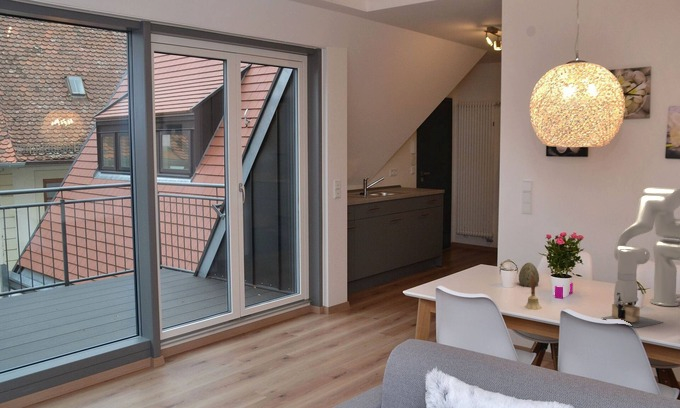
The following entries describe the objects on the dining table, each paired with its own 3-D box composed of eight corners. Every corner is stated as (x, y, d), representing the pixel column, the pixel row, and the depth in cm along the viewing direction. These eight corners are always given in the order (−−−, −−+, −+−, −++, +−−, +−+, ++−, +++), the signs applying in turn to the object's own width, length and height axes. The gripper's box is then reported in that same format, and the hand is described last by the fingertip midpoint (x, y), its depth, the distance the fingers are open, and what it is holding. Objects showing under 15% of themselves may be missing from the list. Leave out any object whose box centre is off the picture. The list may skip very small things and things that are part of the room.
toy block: (560, 295, 327) (561, 281, 326) (572, 296, 323) (573, 282, 322) (549, 300, 315) (550, 285, 315) (561, 301, 311) (562, 287, 311)
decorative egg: (526, 286, 348) (526, 260, 347) (542, 289, 339) (543, 263, 338) (514, 289, 341) (514, 262, 340) (531, 292, 333) (531, 265, 332)
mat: (627, 313, 285) (627, 313, 285) (663, 322, 270) (663, 321, 270) (600, 318, 277) (600, 317, 277) (636, 328, 261) (636, 327, 261)
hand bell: (525, 310, 294) (526, 277, 292) (522, 306, 302) (523, 274, 301) (543, 310, 292) (544, 277, 291) (540, 306, 301) (540, 274, 300)
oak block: (619, 315, 277) (619, 302, 277) (639, 320, 268) (639, 307, 268) (611, 317, 275) (612, 303, 274) (631, 322, 266) (632, 308, 266)
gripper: (632, 273, 277) (631, 313, 279) (606, 277, 269) (605, 318, 271) (647, 276, 271) (646, 317, 272) (621, 280, 263) (620, 322, 264)
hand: (625, 317), depth 271 cm, fingers closed on oak block, 5 cm apart
